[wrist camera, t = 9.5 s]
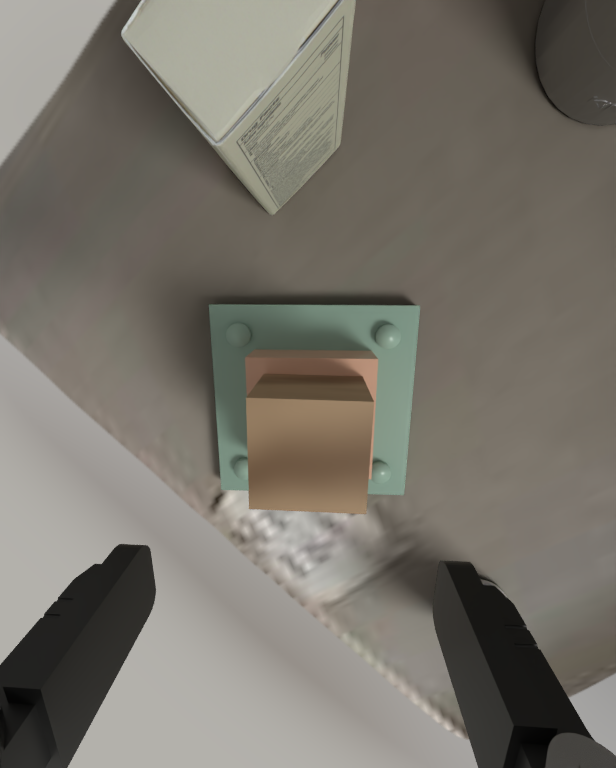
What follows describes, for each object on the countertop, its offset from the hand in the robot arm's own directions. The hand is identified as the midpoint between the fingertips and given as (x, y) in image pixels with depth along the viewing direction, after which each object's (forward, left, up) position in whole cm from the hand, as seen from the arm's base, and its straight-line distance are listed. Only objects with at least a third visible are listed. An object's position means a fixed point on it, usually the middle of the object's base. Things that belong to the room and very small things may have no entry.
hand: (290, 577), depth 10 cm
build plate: (0, 0, -17) cm, 17 cm away
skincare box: (-16, -2, -17) cm, 23 cm away
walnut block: (0, 0, -13) cm, 13 cm away
